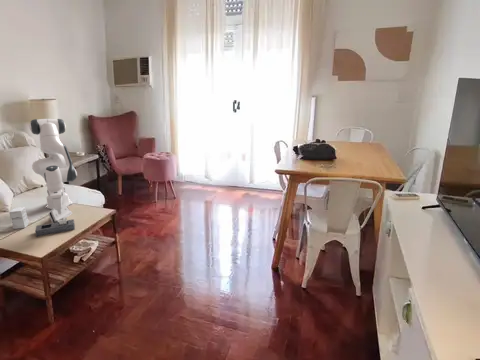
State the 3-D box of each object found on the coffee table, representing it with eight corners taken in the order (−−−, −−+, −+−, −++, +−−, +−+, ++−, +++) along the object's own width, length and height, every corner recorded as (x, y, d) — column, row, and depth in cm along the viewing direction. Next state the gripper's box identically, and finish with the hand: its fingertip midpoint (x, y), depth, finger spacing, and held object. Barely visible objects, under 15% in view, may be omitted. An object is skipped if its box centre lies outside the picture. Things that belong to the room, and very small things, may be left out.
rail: (37, 231, 223) (36, 225, 222) (74, 224, 232) (73, 219, 230) (36, 236, 216) (35, 231, 214) (74, 229, 224) (73, 223, 223)
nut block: (61, 228, 226) (59, 218, 224) (68, 227, 228) (66, 216, 226) (61, 230, 223) (58, 220, 221) (68, 229, 225) (66, 219, 222)
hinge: (58, 222, 235) (51, 210, 233) (53, 224, 236) (45, 212, 234) (72, 213, 251) (66, 201, 249) (67, 215, 252) (61, 203, 250)
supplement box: (13, 229, 227) (8, 211, 223) (17, 224, 234) (13, 207, 230) (25, 228, 229) (21, 210, 225) (29, 223, 236) (25, 206, 232)
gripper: (52, 187, 225) (55, 206, 230) (49, 197, 207) (53, 217, 212) (62, 185, 228) (66, 204, 232) (61, 195, 210) (65, 216, 214)
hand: (60, 211), depth 222 cm, fingers open, 8 cm apart
